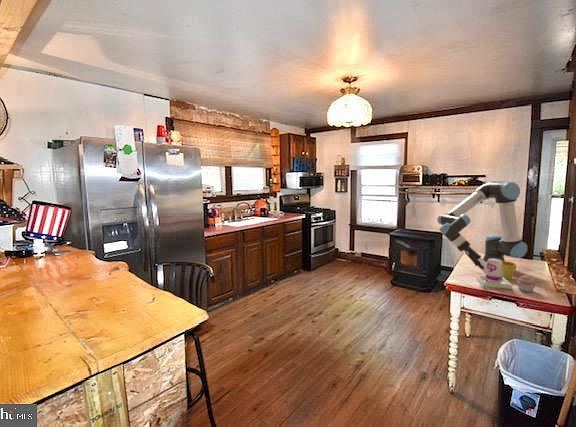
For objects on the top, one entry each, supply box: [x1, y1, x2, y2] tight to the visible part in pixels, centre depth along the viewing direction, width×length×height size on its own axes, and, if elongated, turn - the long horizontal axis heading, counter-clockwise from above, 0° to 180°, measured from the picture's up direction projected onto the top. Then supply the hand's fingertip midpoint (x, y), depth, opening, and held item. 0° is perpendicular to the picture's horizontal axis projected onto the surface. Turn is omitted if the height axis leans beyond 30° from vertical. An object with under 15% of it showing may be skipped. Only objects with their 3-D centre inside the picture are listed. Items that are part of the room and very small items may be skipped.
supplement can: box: [485, 258, 503, 284], centre depth 182 cm, size 8×8×15 cm
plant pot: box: [502, 260, 517, 280], centre depth 195 cm, size 10×10×10 cm
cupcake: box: [515, 273, 537, 293], centre depth 172 cm, size 9×9×10 cm
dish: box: [476, 275, 513, 291], centre depth 183 cm, size 15×15×3 cm
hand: (487, 269), depth 184 cm, fingers open, 13 cm apart
